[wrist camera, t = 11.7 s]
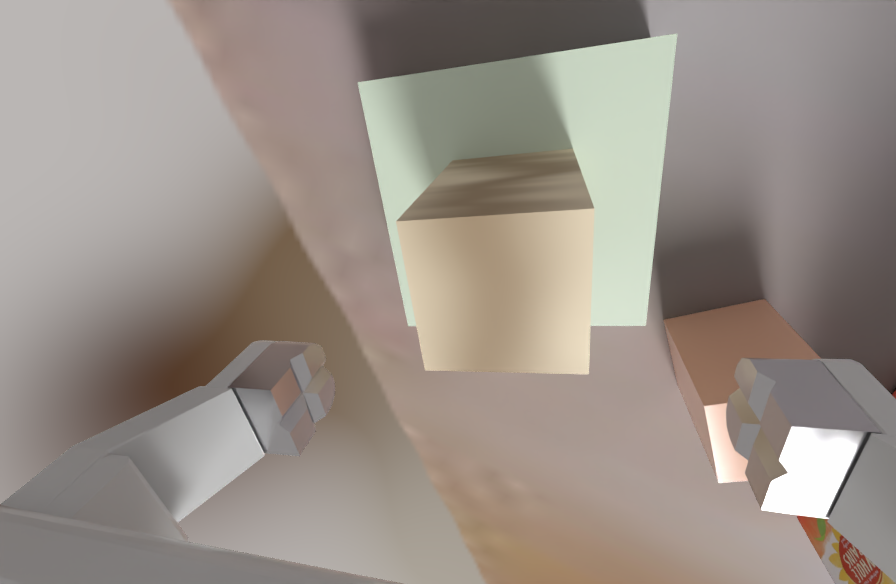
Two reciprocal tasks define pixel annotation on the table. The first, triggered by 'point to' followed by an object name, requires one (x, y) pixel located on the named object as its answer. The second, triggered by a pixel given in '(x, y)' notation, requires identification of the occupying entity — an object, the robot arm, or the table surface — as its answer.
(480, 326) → the beech block
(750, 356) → the terracotta block
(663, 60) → the sage pedestal block
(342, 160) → the table surface
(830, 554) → the cracker box
